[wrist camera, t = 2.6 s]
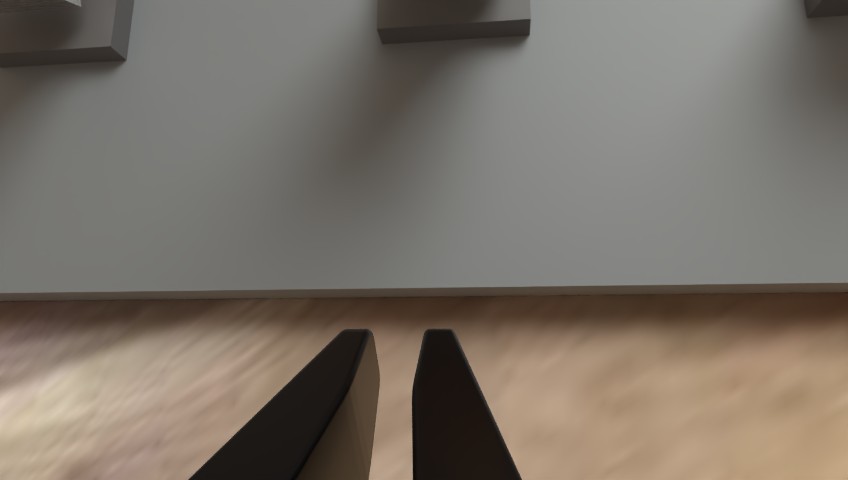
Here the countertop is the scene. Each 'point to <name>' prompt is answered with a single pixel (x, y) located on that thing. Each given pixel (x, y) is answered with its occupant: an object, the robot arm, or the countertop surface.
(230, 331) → the countertop surface
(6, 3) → the cream lever
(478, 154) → the switch panel
